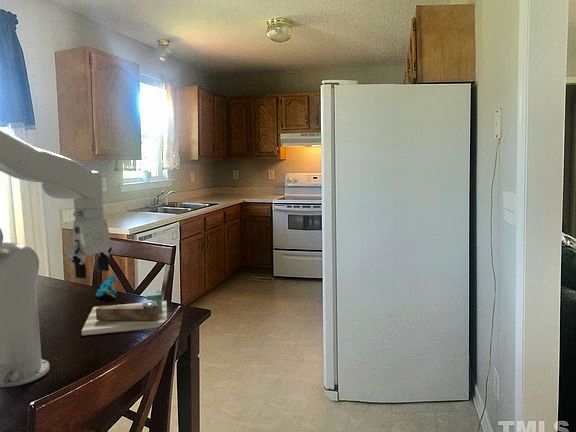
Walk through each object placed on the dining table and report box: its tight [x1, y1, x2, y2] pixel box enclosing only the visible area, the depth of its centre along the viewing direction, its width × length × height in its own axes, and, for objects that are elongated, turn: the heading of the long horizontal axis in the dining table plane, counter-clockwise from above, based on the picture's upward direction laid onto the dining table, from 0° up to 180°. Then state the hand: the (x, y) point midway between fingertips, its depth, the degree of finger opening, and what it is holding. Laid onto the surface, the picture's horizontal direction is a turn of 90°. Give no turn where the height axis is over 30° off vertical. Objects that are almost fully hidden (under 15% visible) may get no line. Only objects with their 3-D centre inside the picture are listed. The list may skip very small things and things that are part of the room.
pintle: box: [142, 300, 156, 308], centre depth 136 cm, size 4×4×5 cm
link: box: [96, 305, 159, 320], centre depth 136 cm, size 18×4×4 cm, turn 91°
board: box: [81, 300, 168, 336], centre depth 141 cm, size 22×24×2 cm
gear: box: [95, 274, 118, 298], centre depth 167 cm, size 11×6×10 cm
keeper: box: [146, 290, 163, 313], centre depth 144 cm, size 5×4×6 cm
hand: (92, 273), depth 127 cm, fingers open, 8 cm apart
